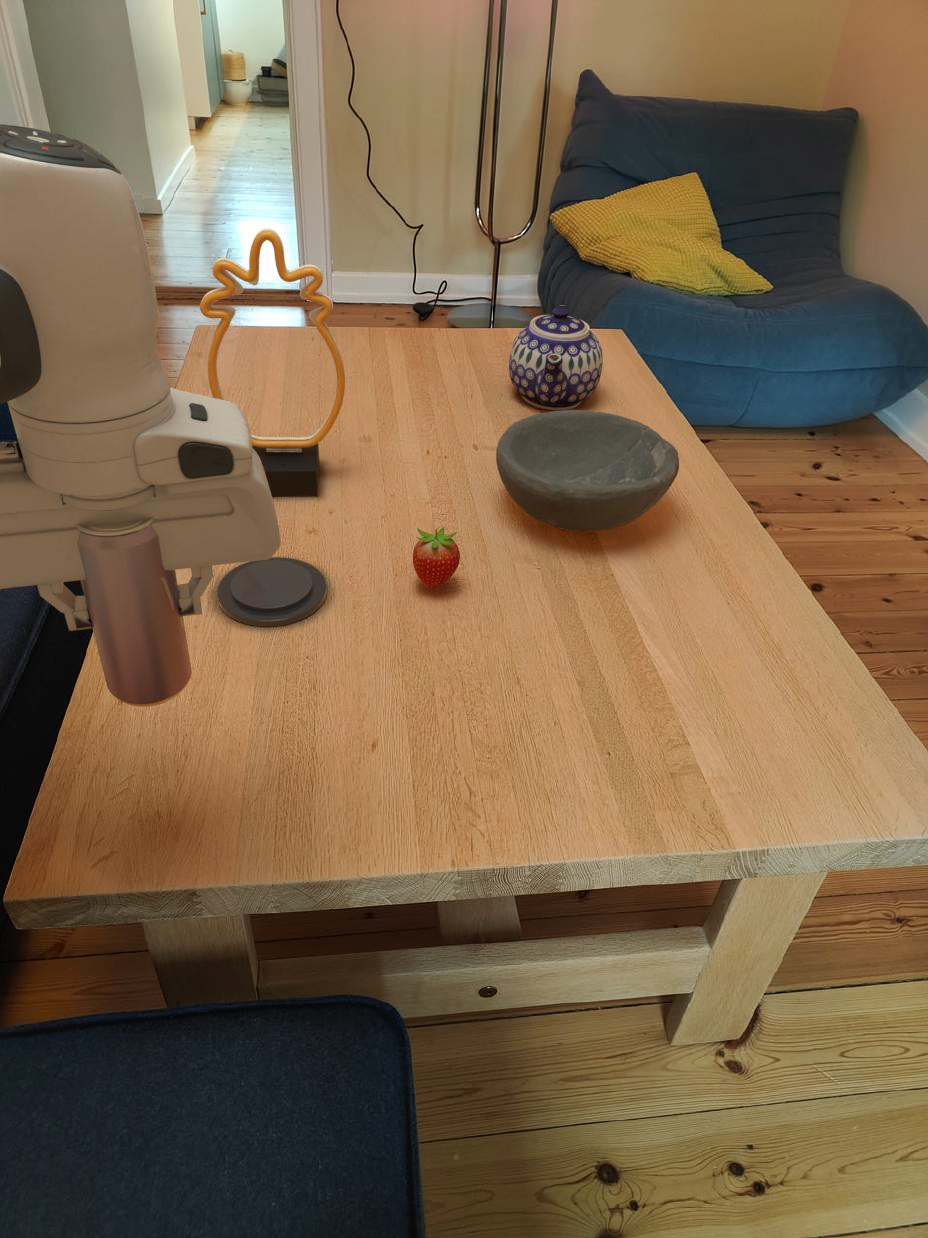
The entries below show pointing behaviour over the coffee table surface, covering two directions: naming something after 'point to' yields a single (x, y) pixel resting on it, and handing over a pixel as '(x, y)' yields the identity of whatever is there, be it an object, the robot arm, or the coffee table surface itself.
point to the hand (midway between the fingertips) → (138, 617)
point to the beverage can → (134, 612)
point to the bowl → (585, 468)
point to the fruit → (435, 558)
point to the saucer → (272, 592)
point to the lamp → (298, 457)
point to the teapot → (555, 361)
